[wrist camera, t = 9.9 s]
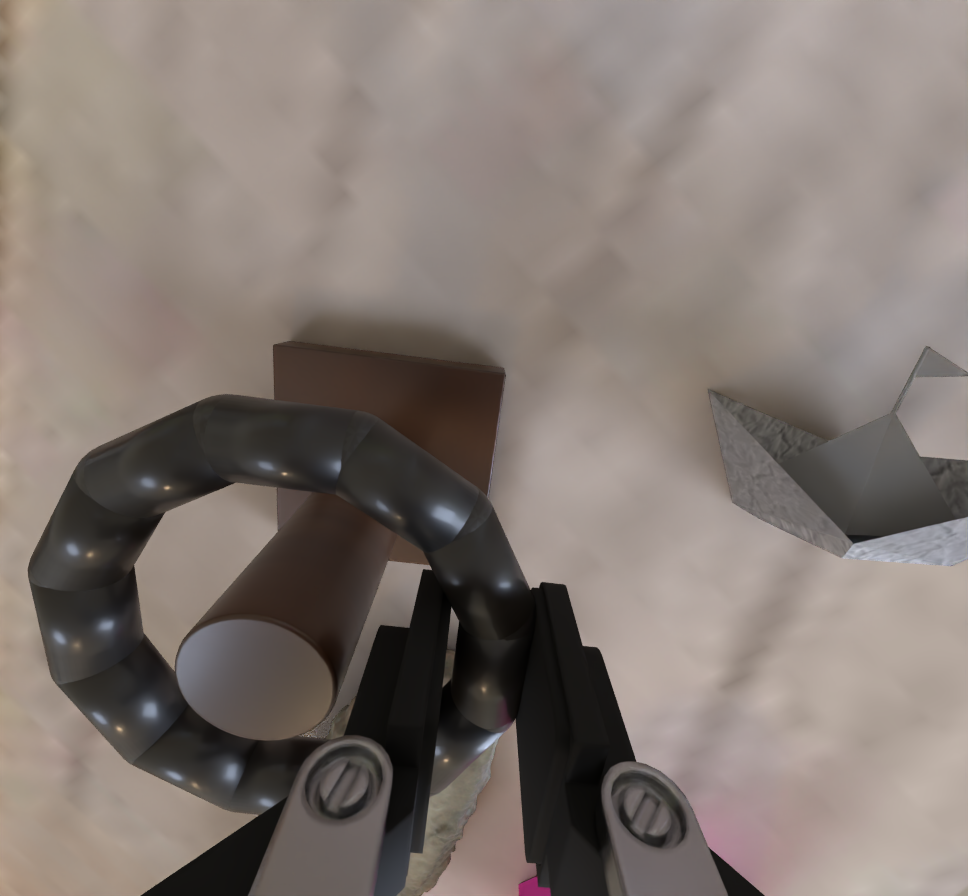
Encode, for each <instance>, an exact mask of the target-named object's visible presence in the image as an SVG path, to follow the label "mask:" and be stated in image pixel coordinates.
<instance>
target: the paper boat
mask: <svg viewBox="0 0 968 896" xmlns="http://www.w3.org/2000/svg"><path fill="white" fill-rule="evenodd" d="M948 376H968V372H966V371H964V370H963V369H961V368H960V367H958V366H957V365H955V364H954V363H952V362H951V361H949V360H948V359H946V358H945V357H943V356H942V355H940V354H938V353H937V352H935V351H934V350H932V349H931V348H930V347H928V346H926V347H925V348H924V350H923V352H922V354H921V356H920V358H919V360H918V362H917V364H916V366H915V368H914V369H913V371H912V373H911V375H910V377H909V379H908V381H907V383H906V385H905V387H904V389H903V391H902V393H901V394H900V396H899V398H898V400H897V402H896V404H895V406H894V408H893V410H892V412H891V413H890V414H888V415H886V416H883V417H881V418H879V419H877V420H875V421H872V422H870V423H868V424H866V425H864V426H861V427H859V428H857V429H855V430H853V431H850V432H848V433H846V434H844V435H841V436H839V437H837V438H835V439H833V440H830V441H827V440H825V439H822V438H820V437H818V436H816V435H813V434H811V433H809V432H806V431H804V430H802V429H799V428H797V427H795V426H792V425H790V424H788V423H785V422H783V421H781V420H778V419H776V418H774V417H771V416H769V415H767V414H764V413H762V412H760V411H757V410H755V409H753V408H750V407H748V406H746V405H743V404H741V403H739V402H737V401H734V400H732V399H730V398H727V397H725V396H723V395H720V394H718V393H716V392H713V391H711V390H709V389H708V393H709V397H710V402H711V406H712V411H713V416H714V420H715V425H716V429H717V434H718V438H719V443H720V448H721V452H722V457H723V461H724V466H725V470H726V475H727V479H728V484H729V489H730V493H731V498H732V502H733V503H734V504H736V505H737V506H739V507H741V508H742V509H744V510H746V511H747V512H749V513H751V514H752V515H754V516H756V517H757V518H759V519H761V520H763V521H765V522H767V523H769V524H771V525H773V526H776V527H778V528H780V529H782V530H784V531H786V532H788V533H790V534H792V535H794V536H797V537H799V538H801V539H803V540H805V541H807V542H809V543H811V544H813V545H815V546H818V547H820V548H822V549H824V550H826V551H828V552H830V553H832V554H834V555H836V556H839V557H841V558H846V559H860V560H874V561H888V562H902V563H915V564H929V565H943V566H953V565H955V564H958V563H960V562H962V561H964V560H966V559H968V461H966V460H954V459H942V458H929V457H920V456H919V454H918V452H917V451H916V449H915V447H914V445H913V444H912V442H911V440H910V438H909V436H908V435H907V433H906V431H905V429H904V428H903V426H902V424H901V422H900V421H899V419H898V417H897V415H896V412H897V410H898V408H899V406H900V404H901V402H902V400H903V399H904V397H905V395H906V393H907V391H908V389H909V387H910V385H911V383H912V381H913V380H914V378H915V377H948Z"/></svg>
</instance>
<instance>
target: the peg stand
mask: <svg viewBox="0 0 968 896" xmlns="http://www.w3.org/2000/svg"><path fill="white" fill-rule="evenodd" d="M273 362H274V400H280V401H288V402H296V403H304V404H311V405H319V406H327V407H335V408H343V409H351V410H358V411H363V412H367V413H370V414H373V415H375V416H377V417H378V418H380V419H381V420H383V421H384V422H385V423H387V424H388V425H390V426H391V427H393V428H394V429H395V430H397V431H398V432H400V433H401V434H402V435H404V436H405V437H407V438H408V439H410V440H411V441H412V442H414V443H415V444H417V445H418V446H419V447H421V448H422V449H424V450H425V451H427V452H428V453H429V454H431V455H432V456H434V457H435V458H436V459H438V460H439V461H441V462H442V463H444V464H445V465H446V466H448V467H449V468H451V469H452V470H453V471H455V472H456V473H458V474H459V475H461V476H462V477H463V478H465V479H466V480H468V481H469V482H470V483H472V484H473V485H475V486H476V487H478V488H479V489H480V490H481V491H482V492H483V493H484V494H485V495H486V496H487V497H488V498H489V491H490V484H491V477H492V470H493V463H494V455H495V448H496V441H497V434H498V427H499V420H500V413H501V405H502V398H503V391H504V384H505V377H506V374H505V370H504V368H501V367H493V366H485V365H477V364H469V363H461V362H453V361H445V360H437V359H429V358H422V357H414V356H406V355H398V354H390V353H382V352H374V351H366V350H358V349H350V348H342V347H334V346H326V345H318V344H310V343H302V342H295V341H287V342H283V343H278V344H274V345H273ZM277 516H278V532H277V533H276V534H275V536H274V537H273V538H272V539H271V540H270V541H269V542H268V544H267V545H266V546H265V547H264V548H263V549H262V550H261V551H260V553H259V554H258V555H257V556H256V557H255V558H254V559H253V560H252V562H251V563H250V564H249V565H248V566H247V567H246V568H245V570H244V571H243V572H242V573H241V574H240V575H239V576H238V577H237V579H236V580H235V581H234V582H233V583H232V584H231V585H230V586H229V588H228V589H227V590H226V591H225V592H224V593H223V594H222V596H221V597H220V598H219V599H218V600H217V601H216V602H215V603H214V605H213V606H212V607H211V608H210V609H209V610H208V611H207V613H206V614H205V615H204V616H203V617H202V618H201V619H200V620H199V622H198V623H197V624H196V625H195V626H194V627H193V628H192V629H191V631H190V632H189V633H188V634H187V635H186V637H185V638H184V639H183V641H182V643H181V644H180V646H179V649H178V652H177V655H176V660H175V676H176V681H177V684H178V687H179V690H180V692H181V693H182V695H183V697H184V699H185V700H186V701H187V703H188V704H189V705H190V706H191V708H192V709H193V710H194V711H195V712H196V713H197V714H198V715H200V716H201V717H202V718H203V719H205V720H206V721H207V722H209V723H210V724H212V725H214V726H215V727H217V728H219V729H221V730H223V731H225V732H228V733H230V734H233V735H236V736H239V737H243V738H248V739H254V740H265V741H273V740H283V739H289V738H293V737H296V736H299V735H302V734H304V733H306V732H308V731H310V730H312V729H313V728H315V727H316V726H317V725H319V724H320V723H321V722H322V721H323V720H324V719H325V718H326V717H327V716H328V714H329V713H330V712H331V710H332V708H333V706H334V704H335V702H336V700H337V697H338V694H339V692H340V689H341V686H342V683H343V681H344V678H345V675H346V673H347V670H348V667H349V665H350V662H351V659H352V656H353V654H354V651H355V648H356V646H357V643H358V640H359V638H360V635H361V632H362V630H363V627H364V624H365V621H366V619H367V616H368V613H369V611H370V608H371V605H372V603H373V600H374V597H375V595H376V592H377V589H378V586H379V584H380V581H381V578H382V576H383V573H384V570H385V568H386V565H387V562H388V561H397V562H406V563H415V564H424V565H430V564H429V562H428V561H427V559H426V557H425V555H424V553H423V551H421V550H420V549H418V548H417V547H415V546H414V545H412V544H411V543H409V542H408V541H406V540H405V539H403V538H402V537H400V536H399V535H397V534H396V533H394V532H392V531H391V530H389V529H388V528H386V527H385V526H383V525H382V524H380V523H379V522H377V521H376V520H374V519H373V518H371V517H370V516H368V515H367V514H365V513H364V512H362V511H360V510H359V509H357V508H356V507H354V506H353V505H351V504H350V503H348V502H347V501H345V500H344V499H342V498H341V497H339V496H338V495H334V494H326V493H317V492H309V491H301V490H293V489H285V488H277Z"/></svg>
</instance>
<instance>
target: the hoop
mask: <svg viewBox="0 0 968 896" xmlns="http://www.w3.org/2000/svg"><path fill="white" fill-rule="evenodd" d="M234 483H244V484H252V485H260V486H269V487H277V488H285V489H293V490H301V491H309V492H317V493H326V494H334V495H338V496H339V497H341V498H342V499H344V500H345V501H347V502H348V503H350V504H351V505H353V506H354V507H356V508H357V509H359V510H360V511H362V512H364V513H365V514H367V515H368V516H370V517H371V518H373V519H374V520H376V521H377V522H379V523H380V524H382V525H383V526H385V527H386V528H388V529H389V530H391V531H392V532H394V533H396V534H397V535H399V536H400V537H402V538H403V539H405V540H406V541H408V542H409V543H411V544H412V545H414V546H415V547H417V548H418V549H420V550H421V551H423V553H424V555H425V557H426V559H427V561H428V562H429V564H430V566H431V568H432V570H433V572H434V574H435V576H436V578H437V580H438V582H439V583H440V585H441V587H442V589H443V591H444V593H445V595H446V597H447V599H448V601H449V602H450V604H451V605H452V608H453V610H454V612H455V614H456V616H457V618H458V620H459V627H458V634H457V642H456V649H455V657H454V664H453V672H452V678H451V679H450V680H449V681H448V682H447V683H446V684H445V686H444V687H443V688H442V696H441V706H440V715H439V723H438V732H437V740H436V749H435V757H434V765H433V773H432V781H431V789H430V797H431V796H434V795H436V794H438V793H440V792H441V791H443V790H444V789H445V788H446V787H448V786H449V785H450V784H451V783H452V782H453V781H454V780H455V779H456V778H457V777H458V776H459V775H460V774H461V773H462V772H463V771H464V770H465V769H466V768H468V767H469V766H470V765H471V764H472V763H473V762H474V761H475V760H476V759H477V758H478V757H479V756H480V755H481V754H482V753H483V752H484V751H485V750H486V749H488V748H489V747H490V746H491V745H492V744H493V743H494V742H495V741H496V740H497V739H498V738H499V737H500V736H501V735H502V734H503V733H504V732H505V731H506V730H508V728H509V727H510V726H511V725H512V724H513V722H514V720H515V718H516V716H517V713H518V709H519V704H520V699H521V694H522V689H523V684H524V678H525V673H526V668H527V663H528V658H529V653H530V648H531V643H532V638H533V633H534V628H535V621H536V603H535V600H534V597H533V595H532V592H531V590H530V588H529V586H528V584H527V581H526V579H525V577H524V575H523V572H522V570H521V568H520V566H519V564H518V561H517V559H516V557H515V555H514V553H513V550H512V548H511V546H510V544H509V542H508V539H507V537H506V535H505V533H504V531H503V528H502V526H501V524H500V522H499V519H498V517H497V515H496V513H495V511H494V508H493V506H492V504H491V502H490V500H489V499H488V497H487V496H486V495H485V494H484V493H483V492H482V491H481V490H480V489H479V488H478V487H476V486H475V485H473V484H472V483H470V482H469V481H468V480H466V479H465V478H463V477H462V476H461V475H459V474H458V473H456V472H455V471H453V470H452V469H451V468H449V467H448V466H446V465H445V464H444V463H442V462H441V461H439V460H438V459H436V458H435V457H434V456H432V455H431V454H429V453H428V452H427V451H425V450H424V449H422V448H421V447H419V446H418V445H417V444H415V443H414V442H412V441H411V440H410V439H408V438H407V437H405V436H404V435H402V434H401V433H400V432H398V431H397V430H395V429H394V428H393V427H391V426H390V425H388V424H387V423H385V422H384V421H383V420H381V419H380V418H378V417H377V416H375V415H373V414H370V413H367V412H363V411H358V410H351V409H343V408H335V407H327V406H319V405H311V404H304V403H296V402H288V401H280V400H272V399H265V398H257V397H249V396H241V395H232V394H222V395H216V396H211V397H208V398H205V399H203V400H201V401H199V402H196V403H194V404H192V405H190V406H188V407H185V408H183V409H181V410H179V411H176V412H174V413H172V414H170V415H168V416H165V417H163V418H161V419H159V420H156V421H154V422H152V423H150V424H147V425H145V426H143V427H141V428H139V429H136V430H134V431H132V432H130V433H127V434H125V435H123V436H121V437H119V438H116V439H114V440H112V441H110V442H107V443H105V444H103V445H101V446H99V447H97V448H95V449H93V450H92V451H90V452H89V453H88V454H87V455H86V456H84V457H83V458H82V459H81V461H80V462H79V463H78V465H77V466H76V468H75V470H74V472H73V474H72V476H71V478H70V480H69V482H68V484H67V486H66V488H65V490H64V492H63V494H62V496H61V498H60V500H59V502H58V504H57V506H56V508H55V510H54V512H53V514H52V516H51V518H50V520H49V522H48V524H47V526H46V528H45V530H44V532H43V534H42V536H41V538H40V540H39V542H38V544H37V546H36V548H35V550H34V552H33V554H32V556H31V559H30V562H29V566H28V578H29V582H30V586H31V591H32V595H33V600H34V604H35V608H36V613H37V617H38V622H39V626H40V631H41V635H42V639H43V644H44V648H45V653H46V657H47V661H48V666H49V670H50V674H51V677H52V679H53V681H54V682H55V683H56V684H57V685H58V687H59V688H60V689H61V690H62V691H63V692H64V693H65V694H66V695H67V696H68V698H69V699H70V700H71V701H72V702H73V703H74V704H75V705H76V706H77V708H78V709H79V710H80V711H81V712H82V713H83V714H84V715H85V716H86V717H87V719H88V720H89V721H90V722H91V723H92V724H93V725H94V726H95V727H96V729H97V730H98V731H99V732H100V733H101V734H102V735H103V736H104V737H105V738H106V740H107V741H108V742H109V743H110V744H111V745H112V746H113V747H114V748H115V750H116V751H117V752H118V753H119V754H120V755H121V756H122V757H123V758H124V759H125V760H126V761H127V762H128V763H130V764H132V765H133V766H135V767H137V768H139V769H142V770H144V771H146V772H148V773H150V774H152V775H154V776H156V777H158V778H160V779H162V780H164V781H166V782H168V783H170V784H173V785H175V786H177V787H179V788H181V789H183V790H185V791H187V792H189V793H191V794H193V795H195V796H197V797H199V798H202V799H204V800H206V801H208V802H210V803H212V804H214V805H216V806H218V807H220V808H222V809H224V810H227V811H231V812H237V813H247V814H256V815H261V814H262V813H264V812H265V811H267V810H268V809H270V808H271V807H273V806H274V805H276V804H277V803H278V802H280V801H281V800H283V799H284V798H286V797H287V796H289V793H290V791H291V788H292V786H293V783H294V781H295V778H296V776H297V773H298V772H299V770H300V768H301V766H302V765H303V763H304V761H305V760H306V759H307V758H308V757H309V756H310V755H311V754H312V752H313V751H314V750H315V749H316V748H318V747H320V746H321V745H323V744H324V743H326V742H328V741H329V740H331V739H321V738H312V737H303V736H296V737H293V738H289V739H283V740H273V741H265V740H254V739H248V738H243V737H239V736H236V735H233V734H230V733H228V732H225V731H223V730H221V729H219V728H217V727H215V726H214V725H212V724H210V723H209V722H207V721H206V720H205V719H203V718H202V717H201V716H200V715H198V714H197V713H196V712H195V711H194V710H193V709H192V708H191V706H190V705H189V704H188V703H187V701H186V700H185V699H184V697H183V695H182V693H181V692H180V690H179V687H178V684H177V681H176V676H175V672H174V670H173V669H172V668H171V667H170V665H169V664H168V663H167V662H166V660H165V659H164V658H163V657H162V655H161V654H160V653H159V652H158V650H157V649H156V648H155V646H154V645H153V644H152V643H151V641H150V640H149V639H148V638H147V636H146V635H145V634H144V633H143V626H142V619H141V611H140V604H139V597H138V590H137V582H136V575H135V568H134V564H135V563H136V561H137V559H138V557H139V556H140V554H141V552H142V551H143V549H144V547H145V546H146V544H147V542H148V540H149V539H150V537H151V535H152V534H153V532H154V530H155V529H156V527H157V525H158V523H159V522H160V520H161V518H162V517H163V515H164V513H165V512H166V511H169V510H171V509H173V508H176V507H178V506H181V505H183V504H185V503H188V502H190V501H193V500H195V499H198V498H200V497H202V496H205V495H207V494H210V493H212V492H214V491H217V490H219V489H222V488H224V487H226V486H229V485H231V484H234Z"/></svg>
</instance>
